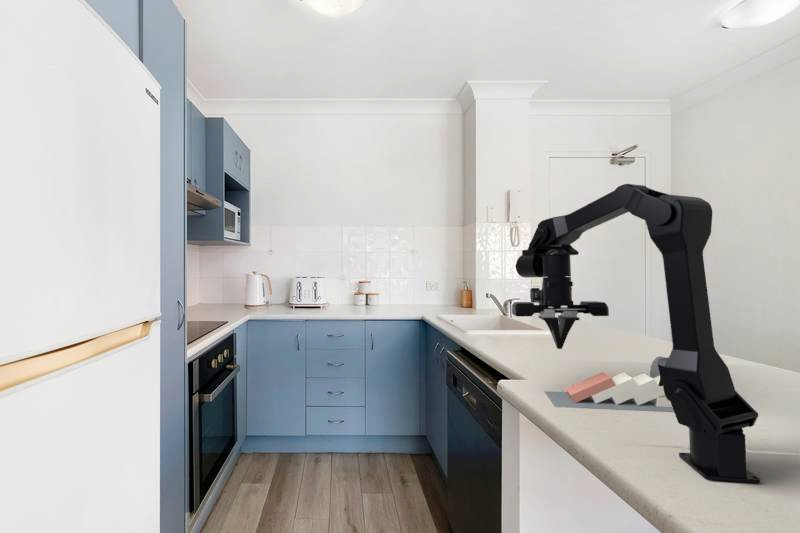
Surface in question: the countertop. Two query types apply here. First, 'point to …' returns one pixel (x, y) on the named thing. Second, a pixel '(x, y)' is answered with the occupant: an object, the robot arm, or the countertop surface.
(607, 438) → the countertop surface
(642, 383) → the domino
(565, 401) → the slate mat
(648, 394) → the domino
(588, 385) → the domino
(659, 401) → the domino
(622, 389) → the domino
